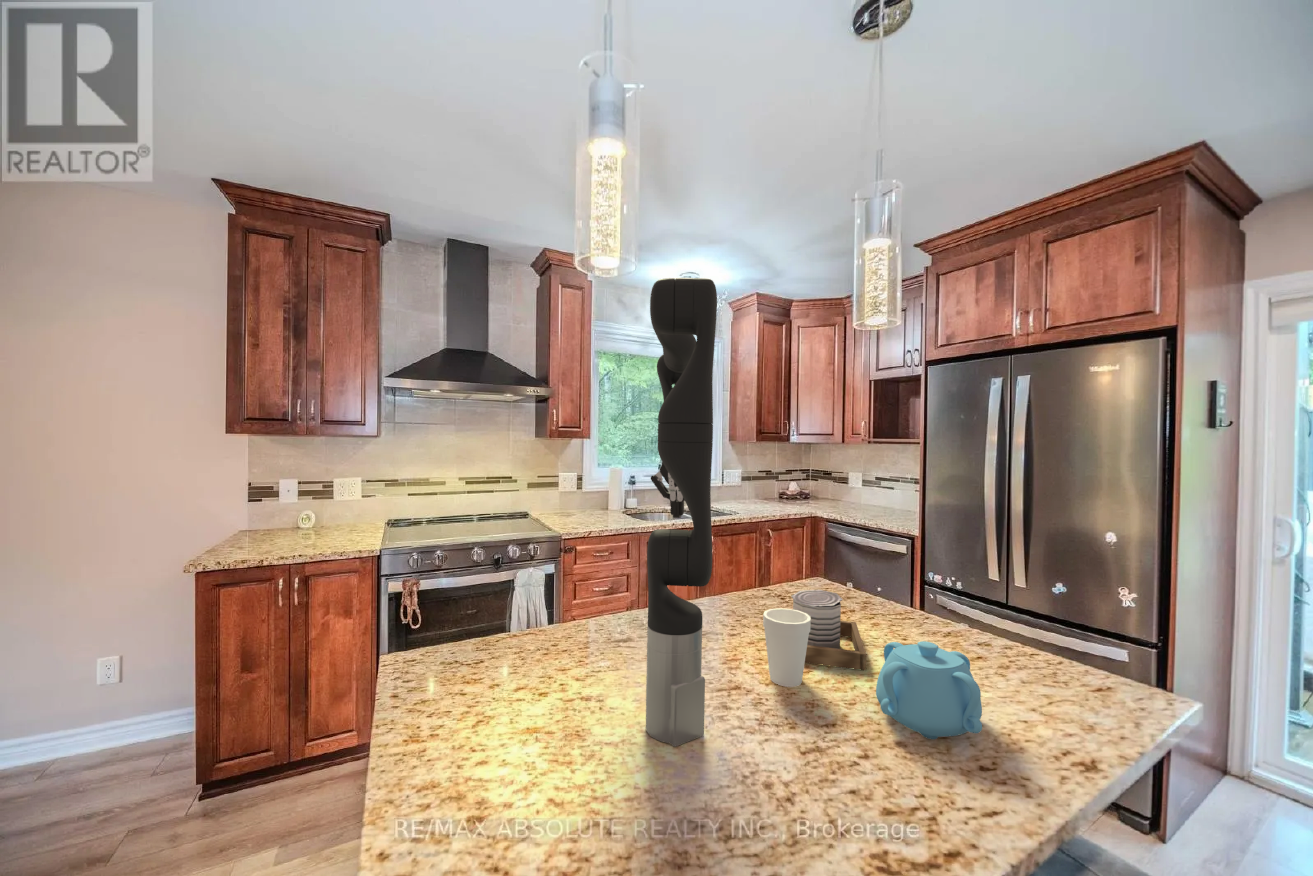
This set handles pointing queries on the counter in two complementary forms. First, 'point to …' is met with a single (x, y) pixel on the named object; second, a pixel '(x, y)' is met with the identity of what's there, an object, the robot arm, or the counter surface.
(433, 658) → the counter surface
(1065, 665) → the counter surface
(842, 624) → the tray
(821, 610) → the can
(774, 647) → the foam cup
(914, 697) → the decorative pot
